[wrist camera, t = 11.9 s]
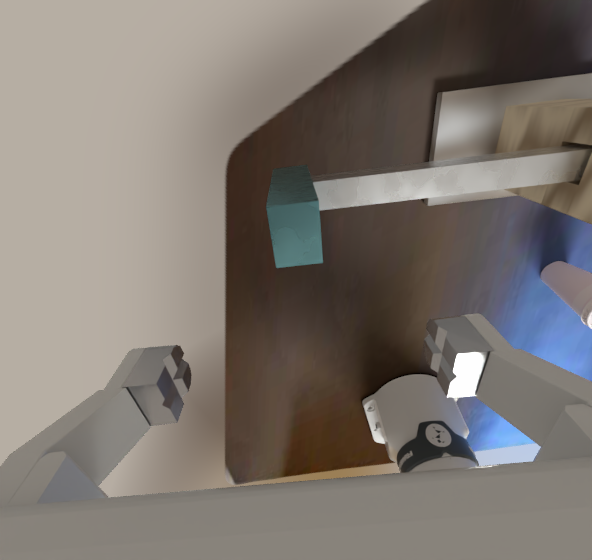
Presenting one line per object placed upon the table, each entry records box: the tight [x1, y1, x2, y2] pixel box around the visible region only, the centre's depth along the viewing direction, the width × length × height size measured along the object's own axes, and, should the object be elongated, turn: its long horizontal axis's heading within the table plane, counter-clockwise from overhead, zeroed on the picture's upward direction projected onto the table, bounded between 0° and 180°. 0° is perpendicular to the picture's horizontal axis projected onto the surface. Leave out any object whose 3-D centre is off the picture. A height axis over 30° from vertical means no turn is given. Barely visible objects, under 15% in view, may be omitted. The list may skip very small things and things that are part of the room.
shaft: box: [266, 144, 592, 268], centre depth 22 cm, size 4×27×11 cm, turn 96°
